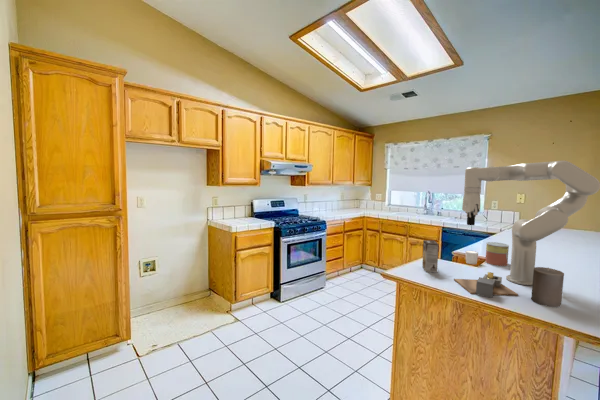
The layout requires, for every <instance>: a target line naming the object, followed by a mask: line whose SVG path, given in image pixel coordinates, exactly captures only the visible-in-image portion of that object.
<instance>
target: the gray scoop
mask: <svg viewBox="0 0 600 400" xmlns="http://www.w3.org/2000/svg"><path fill="white" fill-rule="evenodd" d="M487 275H488V273H487V274H486V273H485V274H484V275H483V277H482V278H486V279H491V278H487ZM491 280H495V283H494V285H493V290H494V288H495V287H499V288H500V286H501V284H503V281H502V280H503V277H501V276H497V275H493V279H491Z"/></svg>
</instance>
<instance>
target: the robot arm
mask: <svg viewBox="0 0 600 400" xmlns="http://www.w3.org/2000/svg"><path fill="white" fill-rule="evenodd" d="M464 171H465V173H464V191H463V193H464V194H463V197H462V206H461V207H462V208H461V209H462V210H461V211H463V212H465V213H466V225H467V226H475V223H476V222H475V221H476V216H478V214H479V213H480V211H481V194H482V181H485V182H496V181H498V182H499V181H518V182H519V181H520V182H524V181H527V182H528V181H543V180H544V181H546V180H559V181H560V182H561V183H563V184H564V185H565V193H564V195H563V196H562V197H560V198H558V199H557V200H556V201H553V202H551V204H547V205H546V206H544V207H543V208H540V209H539V210H537V212H536V213H535V215H534V216H535V217H534V218H532V219H527V218H526V219H525V218H522V219H521V218H520V219H518V220H517V221H515V222H514V223H513V225H512V227H511V236H512V237H511V238H512V240H511V256H510V257H511V259H510V270H509V272H510V273H509V274H508V275H506V280H507V281H509V282H511V283H513V284H517V285H522V286H527V287H528V286H530V287H531V286H532V283H533V272H534V268H535V267H536V256H537V242H538V241H540V240H543V239H545V238H547V237H548V236H550V235H552V234H555V233H556V232H558V231H561V229H564V227H566V225H567V224H568V222H569V217H571V216H572V215H574V214H576V213H577V212H579V211H581V210H582V209H583V208H584V207H585V205H586V204H587V201H588V198H589V196H593V195H595V194H596V193H598V192H599V191H600V181H599V179H597V178H596V177H595V176H593V175H592V174H590V173H588V171H585V170H584V169H582V168H580V167H579V166H577V165H576V164H574V163H572V162H570V161H568V160H555V161H541V162H540V161H539V162H529V163H525V162H524V163H518V164H514V165H506V166H505V165H503V166H487V167H486V166H485V167H477V166H475V167H467V168H465V170H464Z"/></svg>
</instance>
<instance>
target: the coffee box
mask: <svg viewBox="0 0 600 400" xmlns="http://www.w3.org/2000/svg"><path fill="white" fill-rule="evenodd" d="M422 241H423V243H422V244H423V245H422V269H424V271H425V272H426V273H427V272H428V273H438V264H439V263H438V262H439V245H440V244H439V243H438V242H437V241H436V240H427V239H424V240H422Z"/></svg>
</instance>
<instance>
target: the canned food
mask: <svg viewBox="0 0 600 400" xmlns="http://www.w3.org/2000/svg"><path fill="white" fill-rule="evenodd" d="M485 245H486V248H485V261H484V262H485V263H486V264H488V265H491V266H496V267H507V266H508V264H509V263H508V262H509V247H510V245H509V244H507V243H502V242H497V241H496V242H493V241H488V242H486V244H485Z"/></svg>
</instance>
